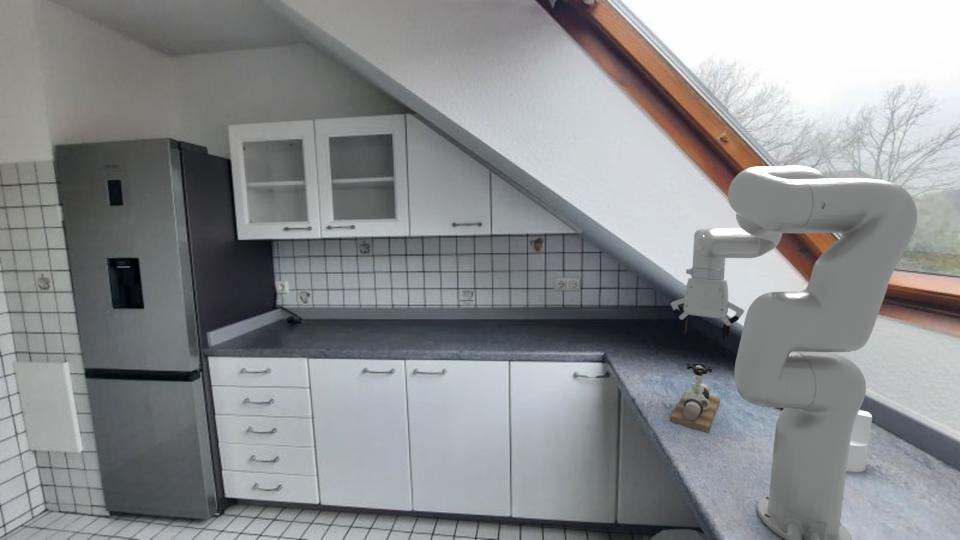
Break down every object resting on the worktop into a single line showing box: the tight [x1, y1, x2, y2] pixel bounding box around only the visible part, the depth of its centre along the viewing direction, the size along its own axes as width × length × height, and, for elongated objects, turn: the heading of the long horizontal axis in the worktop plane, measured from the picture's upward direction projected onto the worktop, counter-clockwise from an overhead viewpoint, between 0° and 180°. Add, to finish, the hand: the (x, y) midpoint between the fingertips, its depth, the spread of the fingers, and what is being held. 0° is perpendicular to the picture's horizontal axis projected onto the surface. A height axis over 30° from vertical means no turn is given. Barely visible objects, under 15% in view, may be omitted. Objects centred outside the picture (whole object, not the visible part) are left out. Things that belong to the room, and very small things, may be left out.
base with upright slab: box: [846, 409, 873, 473], centre depth 85 cm, size 9×9×12 cm
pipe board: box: [669, 382, 721, 433], centre depth 107 cm, size 21×9×6 cm, turn 141°
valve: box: [684, 361, 713, 411], centre depth 107 cm, size 7×7×12 cm
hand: (703, 335), depth 104 cm, fingers open, 9 cm apart
